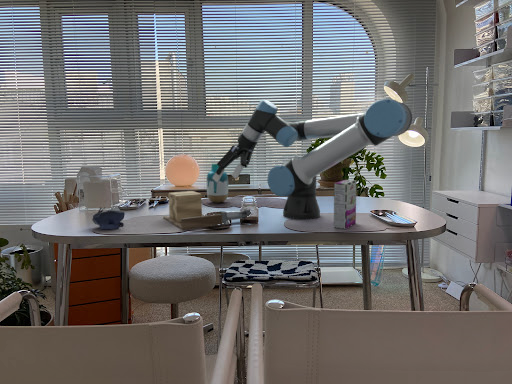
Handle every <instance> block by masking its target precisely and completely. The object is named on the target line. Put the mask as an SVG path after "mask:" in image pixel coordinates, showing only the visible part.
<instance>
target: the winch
mask: <svg viewBox="0 0 512 384" xmlns="http://www.w3.org/2000/svg"><path fill="white" fill-rule="evenodd" d="M250 210H251V209H250V208H244V209H241V210H240V209H239V210H233V211H224V210H223V211H219V214H221V219H222V223H227V221H233V220H234V221H235V220H244V218H246V217H247V216H249V215H250V214H251V215H252V213H251V212H250ZM251 215H250V216H251ZM227 224H228V223H227Z"/></svg>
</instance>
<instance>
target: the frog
mask: <svg viewBox="0 0 512 384" xmlns="http://www.w3.org/2000/svg"><path fill="white" fill-rule="evenodd" d="M105 209H106V207H103V208H102V207H101V206H100V207H99V210H98V212H96V213H95V214H94V215H92V219H91V220H92V222H93V223H94V224H95V225H97V226H99V228H100V229H101V230H109V229H110V230H119V228H120V226H121V225H122V226H121V227H123V226H124V223H123V222H122V221H124V219H125V214H126V213H125V211H122V210H119V209H113V208H111V209H108V210H105ZM104 210H105V211H104Z"/></svg>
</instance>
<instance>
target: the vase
mask: <svg viewBox="0 0 512 384" xmlns="http://www.w3.org/2000/svg"><path fill="white" fill-rule="evenodd" d="M218 168H219V166H218V165H217V163H212V164H211V170H210V171H209V172H208V173H207V175H206V194H207V199H208V200H209V201H210V202H212V203H216V204H217V203H218V204H219V203H222V202H225V201H227V199H228V196H229V179H228V177H229V176H228V173H227V172H226V171H224V173H223V174H222V176H221V178H220V179H219V181H218V182H216V181H215V180H214V179H213V176H214V174H215V173H216V171H217V169H218Z"/></svg>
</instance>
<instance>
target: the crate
mask: <svg viewBox="0 0 512 384" xmlns="http://www.w3.org/2000/svg"><path fill="white" fill-rule="evenodd" d="M167 197H168V210H169V211H168V213H169V214H168V215H169V216H168V217H170V218H172V219H173V220H175V221H177V222H181V218H190V217H199V216H202V214H203V211H202V207H203V206H202V205H203V204H202V203H203V202H202V198H203V194H202V193H199V192H197V191H194V190H186V191H185V190H184V191H174V192H168V193H167Z"/></svg>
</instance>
